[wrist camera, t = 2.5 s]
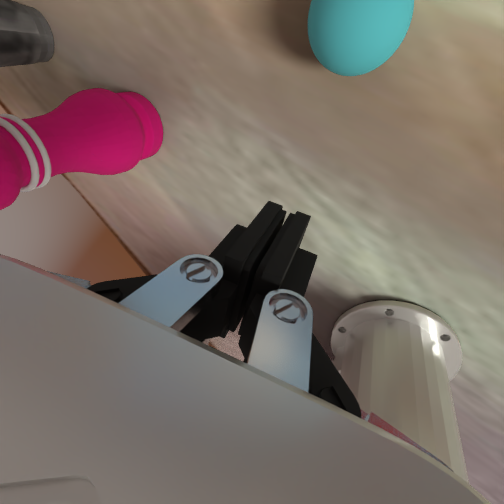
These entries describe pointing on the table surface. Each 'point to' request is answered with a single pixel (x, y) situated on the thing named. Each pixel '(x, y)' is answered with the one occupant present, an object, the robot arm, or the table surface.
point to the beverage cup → (23, 35)
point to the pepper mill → (77, 140)
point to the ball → (357, 32)
